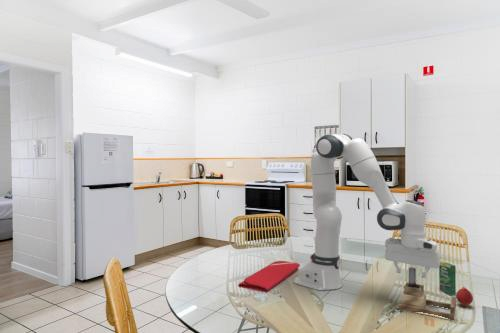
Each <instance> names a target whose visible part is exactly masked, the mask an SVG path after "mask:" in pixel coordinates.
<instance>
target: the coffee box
mask: <svg viewBox="0 0 500 333" xmlns="http://www.w3.org/2000/svg"><path fill="white" fill-rule="evenodd" d="M456 267H457V266H456V265H454V264H452V263H449V262H446V261H444V260H443V261H442V260H440V266H439V268H438V270H439V272H438V273H439V275H438V276H439V277H438V279H439V283H438V285H439V291H441V292H443V293H445V294H446V295H449V296H451V297H455V296H456V293H457V291H456V290H457V289H456V287H457V286H456V285H457V284H456V280H457V279H456V270H457V269H456Z"/></svg>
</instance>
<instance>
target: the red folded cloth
mask: <svg viewBox="0 0 500 333" xmlns="http://www.w3.org/2000/svg"><path fill="white" fill-rule="evenodd" d="M299 267H301V266H300V263H298V262H293V261H285V260H276V261H273V262H271V263H269V264H268V265H267V266H265V267H263V268H261V269H260V270H258V271H255V273H253V274H251V275H249V276H247V277H245V278H244V280H243V281H242V282H240V283H238V285H237V286H238V287H239V288H244V289H249V290H254V291H258V292H264V293H268V292H269V291H271V290H272V289H273V288H275V287H277V286H278V285H279V284H280V283H282V282H283V281H284V280H286V279H287V278H288V277H290V275H292V274H293V273H294V272H295V271H297V269H298V268H299Z"/></svg>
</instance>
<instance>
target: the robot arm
mask: <svg viewBox="0 0 500 333" xmlns="http://www.w3.org/2000/svg"><path fill="white" fill-rule="evenodd" d="M315 150H316V151H314V152H313V153H312V154H311V157H310V176H311V177H310V178H311V186H312V206H313V207H312V208H313V209H312V210H313V216H314V219H315V220H316V228H315V237H314V252H313V254H311V255H310V257H309V259H310V262H308V263H306V264H305V265H304V266H302V267H301V268H300V270H299V273H298V276H296V277H295V278H294V280H293V283H294V284H295V285H300V286H302V287H303V286H304V287H306V288H310V289H313V290H316V291H325V290H337V289H340V288H342V287H343V284H342V279H341V274H340V267H341V259H340V257H341V256H340V253H339V252H340V251H339V250H340V249H339V247H340V244H339V242H340V235H341V234H340V232H341V226H342V225H341V224H342V220H343V219H342V218H343V214H342V212H341V210H340V208H339V207H338V206H337V202H336V201H337V182H336V181H337V180H336V173H335V171H336V170H335V162H336V160H341V159H342V158H345V160H346V161H347V162H348V165H349V166H350V168H351V171H352V173H353V174H354V176H355V177H356V178H357V180H358V181H359V182H361V183H362V184H365V185H366V186H367V187H369V188H370V189H371V190H372V191H373V193H374V194H375V196H376V198H377V199H378V200H377V201H379V204H380V205H381V207H382V208H381V210H379V211H378V213H377V216H376V222H377V224H378V226H379V227H380V228H382V229H383V230H385V231H400V238H393V237H389V238H387V239H385V242H384V243H385V244H384V246H385V252H384V258H385V260H386V261H388V262H390V261H391V262H393V266H394V267H395V269H396V270H395V273H397V274H401V272H402V271H401V270H402V268H400V267H399V265H398V264H399V263H402V264H407V265H412V266H413V265H414V266H419V267H424V269H425V271H421V278H422V279H426V278H427V273H428V272H429V271H430V268H431V269H439V266H440V262H441V258H440V252H439V250H438V243H437V242H436V241H434V240H432V239H429V238H427V237H426V234H425V226H426V215H427V214H426V208H425V206H424V205H423V203H421V202H419V201H416V200H410V199H406V200H403V201H402V202H400V203H399V202H398V201H397V200H396V198H395V197H394V194H393V193H392V191H391V189H390V188H389V186H388V183H387V182H386V180H385V177H384V175H383V173H382V170H381V167H380V164H379V162H378V160H377V158H376V156H375V154H374V152H373V151H372V149H371V148H370V146H369V145H368V143H367V142H366V141H365V140H364V139H363V138H359V137H357V138H353V137H352V136H351V135H348V134H346V133H332V134H325V135H322V136H320V138H318V140H317V141H316V145H315Z"/></svg>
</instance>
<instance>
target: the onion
mask: <svg viewBox="0 0 500 333" xmlns="http://www.w3.org/2000/svg"><path fill="white" fill-rule="evenodd" d="M455 297H456V301H457V302H458V303H459V304H460V305H461V306H462V307H468V306H470V305H471V304H472V303H473V302H474V301H473V300H474V296H473V294H472V293H471V291H470V290H469V289H467V288H466V286H462V287H461V288H460V289H459V290H457V291H456V295H455Z"/></svg>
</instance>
